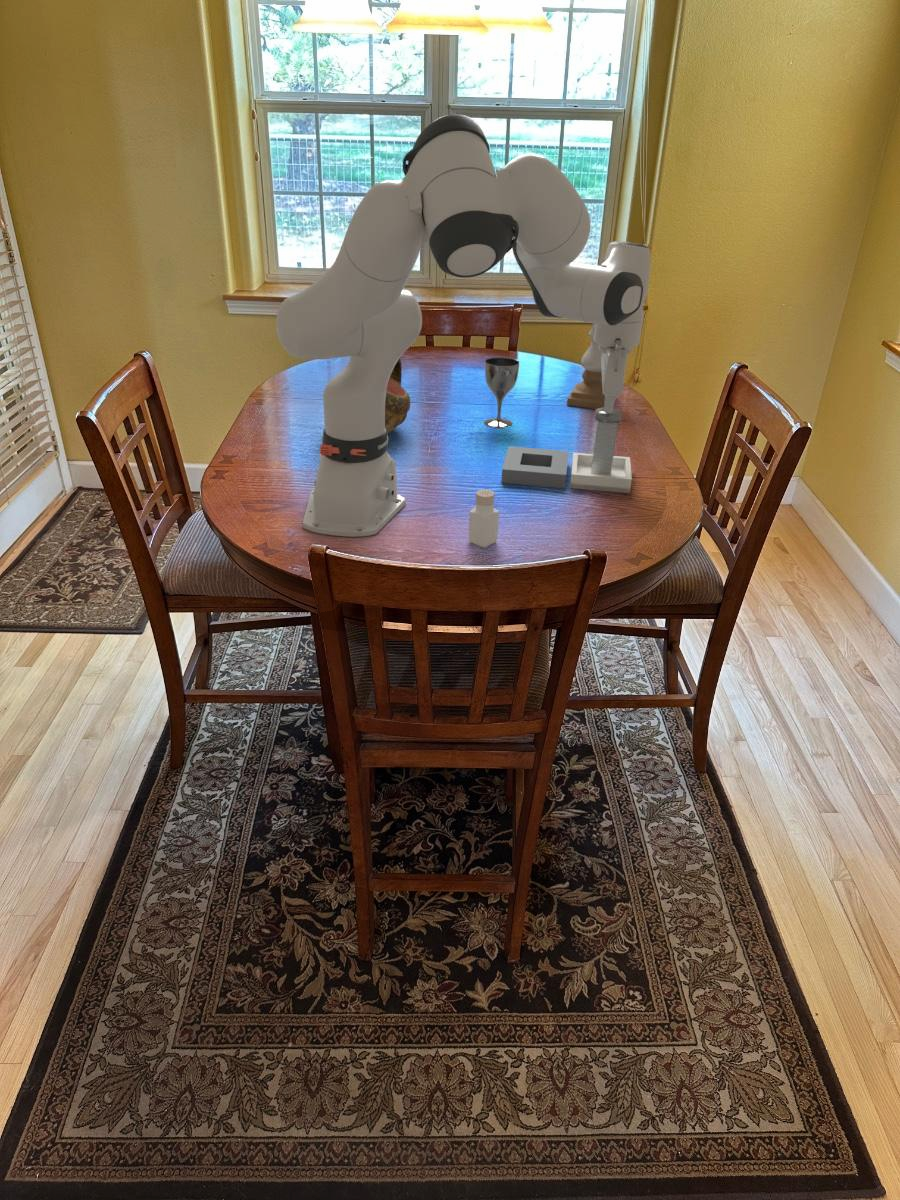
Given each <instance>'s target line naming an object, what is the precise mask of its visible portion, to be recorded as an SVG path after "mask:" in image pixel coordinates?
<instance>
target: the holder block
mask: <svg viewBox="0 0 900 1200" xmlns="http://www.w3.org/2000/svg"><path fill="white" fill-rule="evenodd" d="M569 453H570V452H569V451H568V450H557V449H546V448H545V449H544V448H534V447H533V448H531V447H522V446H508V447H507V451H506V453H505V459H504V461H503V465H502V468H501V484H508V485H509V484H510V485H519V486H520V485H522V486H532V487H533V486H534V487H544V488H554V489H555V488H556V489H566V483H567V481H566V480H567V472H568V462H569Z"/></svg>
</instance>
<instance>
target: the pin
mask: <svg viewBox="0 0 900 1200" xmlns="http://www.w3.org/2000/svg"><path fill="white" fill-rule="evenodd" d="M622 414H623V413H622V411H621V410H620V409H618V408H613V412H612V413H605V412H604V408H598V409H595V414H594V420H595V421H596V426H595V433H594V443H593V451H592V454H593V456H592V464H591V474H596V475H608V476H611V469H612V462H613V456H615V455H614V454H615V446H616V441H617V432H618V424H619V423H620V422H621V421H622Z"/></svg>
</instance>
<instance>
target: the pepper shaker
mask: <svg viewBox="0 0 900 1200" xmlns="http://www.w3.org/2000/svg"><path fill="white" fill-rule="evenodd" d="M495 495H496V494H495V492H494V491H493V490H491V489H487V488H486V489H482V488H481V489H479V490H477V491H476V492H475V507H474V508H472V509H470V511H469V517H468V539H467V540H468V541H469V542H470V543H471V544H474V545H476V546H478V547H480V548H487V547H489V546H491V545H493V544H495V543H496V542H497V541H498V533H499V520H500V519H499V518H500V512H499V510H498V509H497V508H494V504H495Z"/></svg>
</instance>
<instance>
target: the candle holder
mask: <svg viewBox="0 0 900 1200" xmlns="http://www.w3.org/2000/svg"><path fill="white" fill-rule="evenodd" d="M594 329H595V324H594V323H592V327H591V329H590V330H589V332H588V335H589V338H590V340H591V341H590V342H591V343H590V345H589V347H588V348H587V350H586V351H585V352H584V353H583V356H582V357H581V361H580V363H581V366H582V367H583V368H584V369H585V370H583V372H582V375H581V378H582V379H583V380H582V381H580V382H577V383H576V384H575V386H574V387H573V388H572V391H571V392H570V394H569V395H568V397H567V398H566V399H567V400H566V406H568V405H569V406H570V407H575V408H584V409H592V410H596V409H598V408H604V402H605V397H603V388H602V369H601V352H600V351H599V344H597V343H595V342H594V341H593V337H594ZM569 406H568V407H569Z"/></svg>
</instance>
